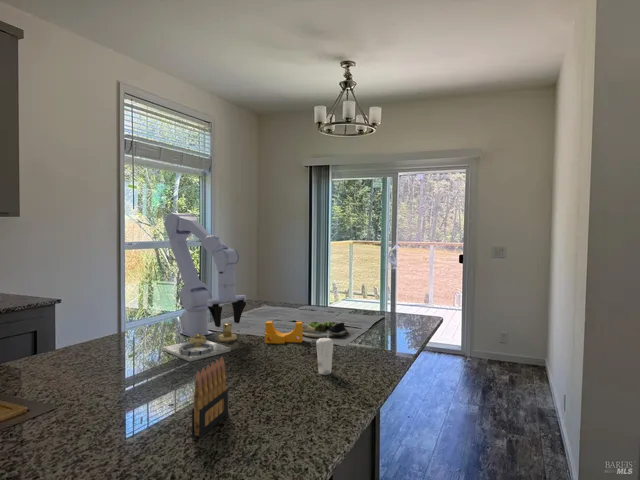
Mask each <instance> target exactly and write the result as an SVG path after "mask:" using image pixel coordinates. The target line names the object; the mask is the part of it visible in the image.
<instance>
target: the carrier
mask: <svg viewBox="0 0 640 480" xmlns="http://www.w3.org/2000/svg"><path fill="white" fill-rule="evenodd" d="M231 350H232V349H231V347H229V346H226V345H222V344H219V343H217V342H214V341H211V340H208V339H207V337H206V335H204V336H201V334H195V335H194V336H192V337H190V336H189V340H188V341H184V342H181V343H176V344H172V345H167V346H162V351H163V352H165V353H168V354H170V355H173V356H175V357H177V358H180V359H182V360H185V361H187V362H188V363H189V362H190V363H191V362H194V361H197V360H201V359H206V358H209V357H213V356H217V355H221V354H225V353H229V352H232V351H231Z"/></svg>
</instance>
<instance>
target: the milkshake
mask: <svg viewBox="0 0 640 480" xmlns="http://www.w3.org/2000/svg"><path fill="white" fill-rule="evenodd" d="M334 344H335V343H334V340H333V339H332V338H331V337H329V332H328V333H327V337H326V338H317V340H316V341H315V345H316V353H317V354H316V356H317V357H316V358H317V368H318V369H317V372H318V375H319V374H320V375H322V376H324V375H325V376H326V375H331V374H332V365H333V364H332V363H333V351H334Z"/></svg>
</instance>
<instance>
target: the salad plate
mask: <svg viewBox="0 0 640 480" xmlns="http://www.w3.org/2000/svg"><path fill="white" fill-rule="evenodd" d="M328 332H329V338H340V337H341V338H342V337H343V336H346V335H347V334H348V329H347V328H346V326H345V322H340V323H338V322H337V323H336V322H333V321H323V322H321V323H320V322H317V321H310V322H309V323H308V324H307V323H305V324H303V336H304V337H305V336H306V337H309V338H317V339H320V338H327V333H328Z"/></svg>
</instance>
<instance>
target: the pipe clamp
mask: <svg viewBox="0 0 640 480" xmlns="http://www.w3.org/2000/svg"><path fill="white" fill-rule="evenodd" d="M303 325H304V324H303V321H295V326H294V329H293V330H291V331H290V332H287V333H286V332H285V333H284V332H280V331H279V330H278V329H276V327H275V326H274V321H272V320H271V321H270V320H268V321H266V322H265V333H264V344H285V343H302V342H303V336H304V335H303Z"/></svg>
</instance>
